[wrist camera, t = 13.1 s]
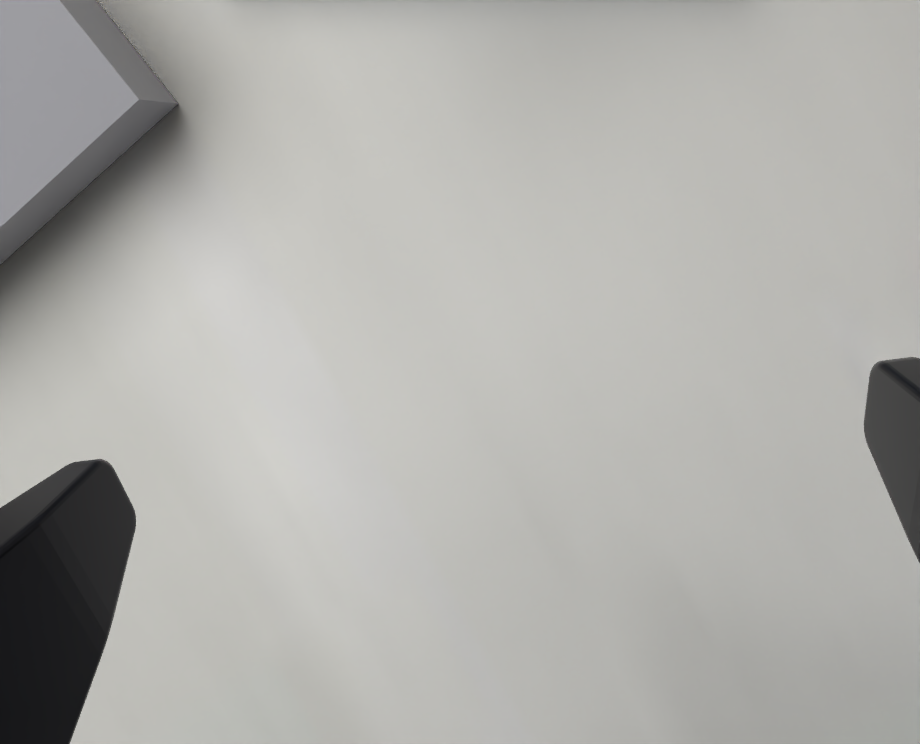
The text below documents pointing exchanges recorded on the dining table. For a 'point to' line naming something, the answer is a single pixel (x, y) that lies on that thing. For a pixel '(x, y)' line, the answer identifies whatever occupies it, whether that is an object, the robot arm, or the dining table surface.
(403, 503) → the dining table surface
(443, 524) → the dining table surface
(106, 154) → the socket block
